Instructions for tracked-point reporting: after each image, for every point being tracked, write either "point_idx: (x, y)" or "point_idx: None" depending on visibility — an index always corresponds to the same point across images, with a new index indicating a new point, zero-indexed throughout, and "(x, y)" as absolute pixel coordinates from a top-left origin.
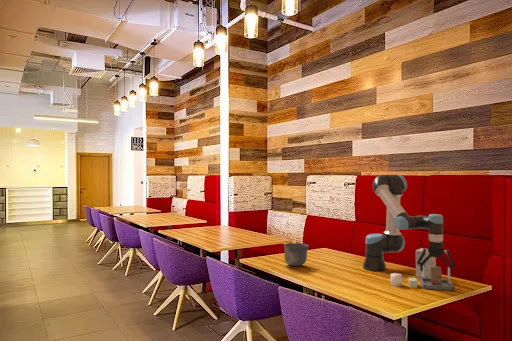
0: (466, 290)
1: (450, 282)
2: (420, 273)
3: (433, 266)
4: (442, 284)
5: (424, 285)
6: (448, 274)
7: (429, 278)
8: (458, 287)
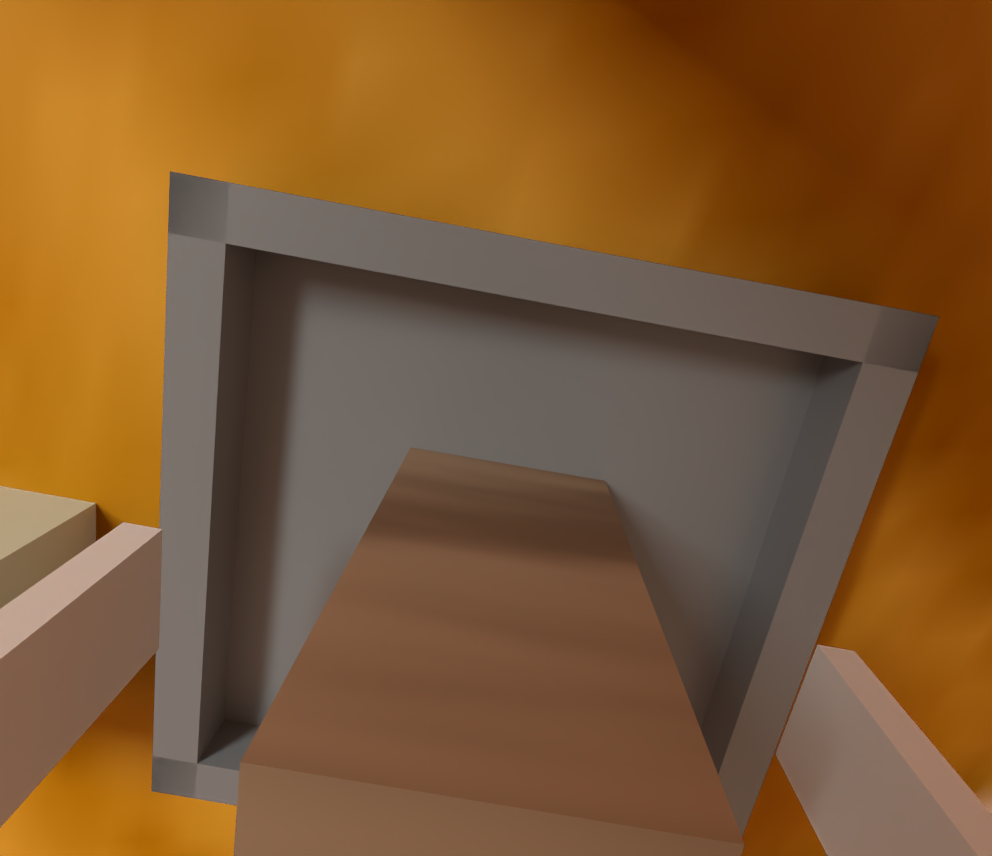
0: (950, 761)
1: (825, 585)
2: None
3: (395, 792)
4: (642, 514)
5: (183, 786)
6: (847, 844)
7: (426, 263)
8: (911, 602)
